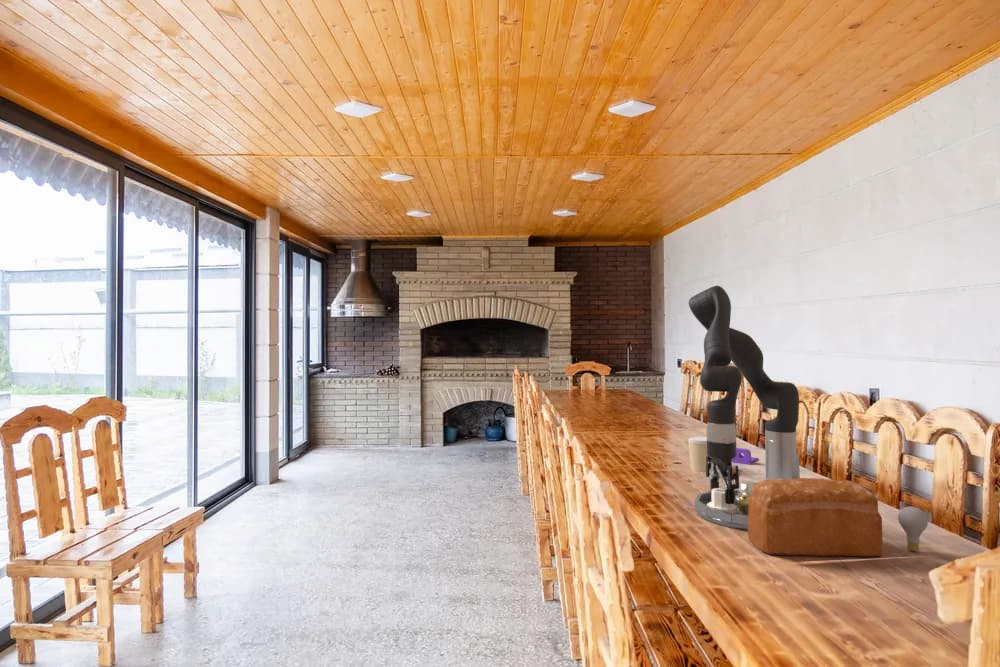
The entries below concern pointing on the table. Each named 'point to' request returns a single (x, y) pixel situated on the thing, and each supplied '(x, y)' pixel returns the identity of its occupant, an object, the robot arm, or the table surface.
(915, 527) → the light bulb
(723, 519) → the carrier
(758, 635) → the table surface
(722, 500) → the white faceted ring
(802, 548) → the bread
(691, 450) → the coffee cup
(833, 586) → the table surface
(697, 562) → the table surface
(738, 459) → the bracket
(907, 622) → the table surface
